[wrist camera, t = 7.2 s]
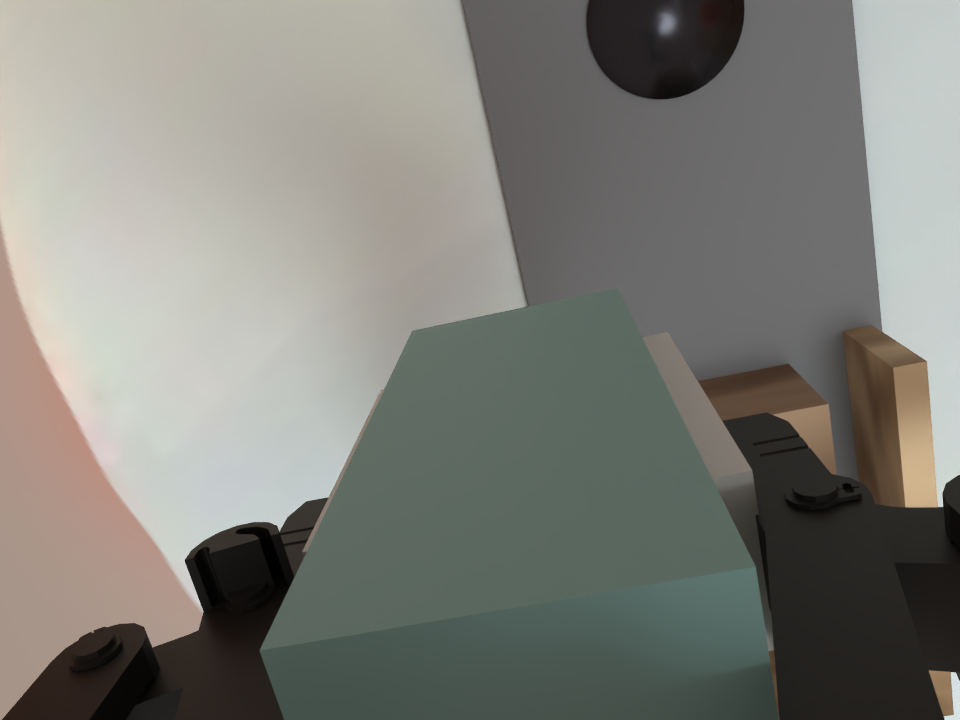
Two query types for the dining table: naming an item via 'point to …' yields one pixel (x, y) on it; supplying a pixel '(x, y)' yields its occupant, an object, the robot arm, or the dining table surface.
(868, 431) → the wooden l-shaped bracket
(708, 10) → the black round disc
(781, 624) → the robot arm
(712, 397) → the walnut block
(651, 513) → the crook
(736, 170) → the runner mat
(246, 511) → the dining table surface
